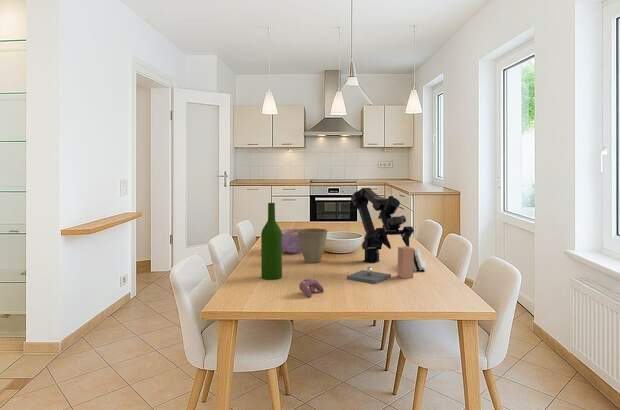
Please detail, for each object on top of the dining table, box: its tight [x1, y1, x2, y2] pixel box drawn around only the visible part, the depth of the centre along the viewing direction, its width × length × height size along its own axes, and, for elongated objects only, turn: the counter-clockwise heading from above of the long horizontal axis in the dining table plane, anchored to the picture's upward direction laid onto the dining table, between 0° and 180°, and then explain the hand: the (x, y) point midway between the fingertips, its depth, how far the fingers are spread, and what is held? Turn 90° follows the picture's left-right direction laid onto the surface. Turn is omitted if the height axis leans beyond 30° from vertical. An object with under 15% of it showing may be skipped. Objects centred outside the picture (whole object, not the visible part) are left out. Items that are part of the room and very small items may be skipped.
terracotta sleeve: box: [396, 245, 415, 279], centre depth 210 cm, size 5×5×13 cm
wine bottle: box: [260, 202, 283, 281], centre depth 207 cm, size 9×9×32 cm
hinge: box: [413, 248, 428, 273], centre depth 228 cm, size 17×5×10 cm, turn 164°
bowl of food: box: [281, 228, 302, 255], centre depth 265 cm, size 20×20×12 cm
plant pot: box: [298, 227, 328, 264], centre depth 240 cm, size 15×15×16 cm
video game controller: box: [298, 277, 325, 298], centre depth 183 cm, size 10×5×7 cm, turn 145°
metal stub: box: [366, 266, 372, 276], centre depth 208 cm, size 2×2×3 cm
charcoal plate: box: [346, 269, 392, 284], centre depth 208 cm, size 14×14×1 cm
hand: (399, 247), depth 215 cm, fingers open, 9 cm apart
